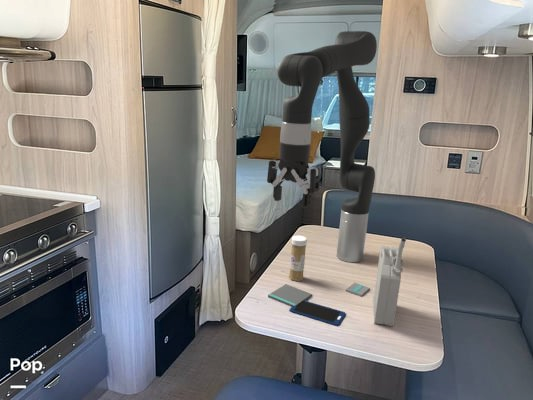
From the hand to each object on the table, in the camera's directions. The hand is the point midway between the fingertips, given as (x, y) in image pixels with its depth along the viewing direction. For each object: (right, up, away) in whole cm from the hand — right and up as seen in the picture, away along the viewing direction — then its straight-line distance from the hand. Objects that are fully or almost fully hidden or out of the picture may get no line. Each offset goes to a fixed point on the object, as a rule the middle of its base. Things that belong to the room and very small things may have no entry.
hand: (291, 203), depth 111 cm
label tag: (+21, -26, +18) cm, 38 cm away
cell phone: (+7, -30, +5) cm, 31 cm away
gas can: (+25, -30, +5) cm, 39 cm away
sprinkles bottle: (+3, -23, +24) cm, 34 cm away
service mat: (0, -26, +12) cm, 29 cm away
